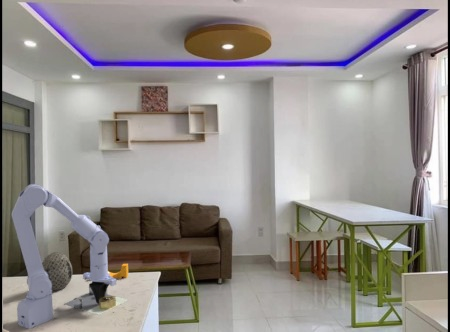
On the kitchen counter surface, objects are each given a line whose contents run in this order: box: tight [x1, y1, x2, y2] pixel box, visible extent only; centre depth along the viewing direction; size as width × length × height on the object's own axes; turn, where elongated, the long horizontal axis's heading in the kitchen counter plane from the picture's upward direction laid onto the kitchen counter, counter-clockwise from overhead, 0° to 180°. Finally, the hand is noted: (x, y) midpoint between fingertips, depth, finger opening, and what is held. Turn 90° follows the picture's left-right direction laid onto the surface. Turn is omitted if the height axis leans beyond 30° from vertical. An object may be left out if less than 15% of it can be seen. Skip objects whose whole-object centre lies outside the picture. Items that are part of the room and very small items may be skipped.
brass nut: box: [99, 295, 117, 310], centre depth 118 cm, size 6×5×3 cm
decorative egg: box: [42, 251, 73, 292], centre depth 135 cm, size 12×12×15 cm
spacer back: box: [88, 286, 94, 295], centre depth 129 cm, size 3×3×3 cm
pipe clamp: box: [108, 263, 129, 279], centre depth 145 cm, size 12×4×6 cm, turn 89°
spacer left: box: [72, 296, 83, 310], centre depth 117 cm, size 3×3×3 cm
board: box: [64, 292, 128, 316], centre depth 122 cm, size 13×18×1 cm
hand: (100, 302), depth 120 cm, fingers closed
